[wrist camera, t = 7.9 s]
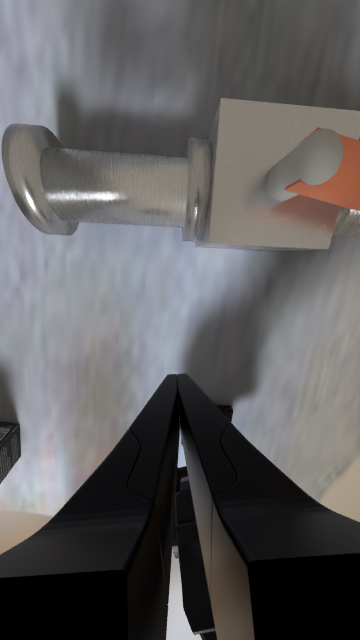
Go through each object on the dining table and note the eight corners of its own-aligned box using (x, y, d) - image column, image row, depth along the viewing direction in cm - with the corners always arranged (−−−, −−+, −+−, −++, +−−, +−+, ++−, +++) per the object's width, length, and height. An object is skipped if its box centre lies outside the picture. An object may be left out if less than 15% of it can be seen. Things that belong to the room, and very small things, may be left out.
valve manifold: (385, 256, 20) (492, 257, 13) (68, 241, 18) (10, 233, 11) (415, 176, 18) (561, 130, 11) (56, 149, 16) (-26, 74, 9)
